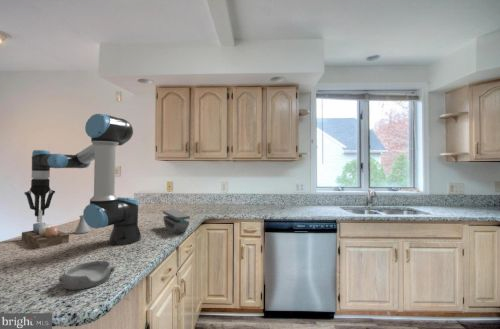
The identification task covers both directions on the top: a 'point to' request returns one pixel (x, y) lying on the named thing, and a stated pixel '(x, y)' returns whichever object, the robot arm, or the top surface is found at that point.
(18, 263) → the top surface
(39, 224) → the blue rounded lump
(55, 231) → the peach orange ball
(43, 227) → the off-white round ball
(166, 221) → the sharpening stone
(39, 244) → the wooden egg tray
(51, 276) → the top surface
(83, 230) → the flask
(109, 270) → the dish
